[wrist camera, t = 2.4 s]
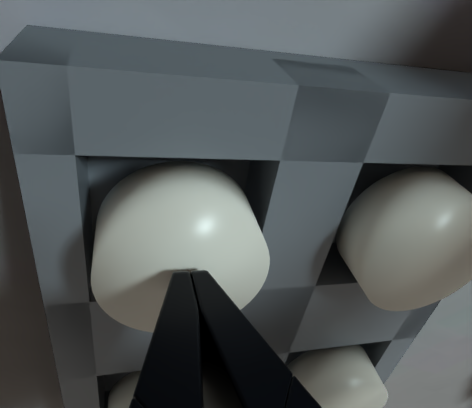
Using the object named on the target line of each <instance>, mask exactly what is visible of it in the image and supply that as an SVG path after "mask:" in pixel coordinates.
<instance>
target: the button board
mask: <svg viewBox="0 0 472 408" xmlns="http://www.w3.org/2000/svg"><path fill="white" fill-rule="evenodd" d="M0 89H1V94H2V99H3V104H4V109H5V114H6V119H7V124H8V129H9V134H10V139H11V144H12V149H13V154H14V159H15V164H16V169H17V174H18V179H19V184H20V189H21V194H22V199H23V204H24V209H25V214H26V219H27V224H28V229H29V234H30V239H31V244H32V249H33V254H34V259H35V264H36V269H37V274H38V279H39V284H40V289H41V294H42V299H43V304H44V309H45V314H46V319H47V324H48V329H49V334H50V339H51V344H52V349H53V354H54V359H55V364H56V369H57V374H58V379H59V384H60V389H61V394H62V399H63V404H64V408H108V397H109V393H110V391H111V389H112V388H113V386H114V385H115V384H116V383H117V382H118V381H119V380H121V379H122V378H123V377H125V376H126V375H128V374H130V373H132V372H134V371H141V369H142V366H143V363H144V360H145V357H146V354H147V350H148V347H149V344H150V341H151V338H152V335H153V332H146V331H141V330H137V329H134V328H131V327H128V326H126V325H124V324H121V323H119V322H118V321H116V320H114V319H113V318H112V317H110V316H109V315H108V314H107V313H105V311H104V310H103V309H102V308H101V307H100V306H99V304H98V303H97V301H96V299H95V297H94V294H93V292H92V287H91V269H92V260H93V250H94V240H95V230H96V221H97V215H98V211H99V209H100V206H101V204H102V202H103V200H104V199H105V197H106V195H107V194H108V193H109V192H110V190H111V189H112V188H113V187H114V186H115V185H116V184H117V183H118V182H120V181H121V180H122V179H124V178H125V177H127V176H128V175H130V174H132V173H133V172H135V171H137V170H139V169H142V168H144V167H147V166H150V165H153V164H157V163H162V162H169V161H191V162H197V163H202V164H206V165H209V166H212V167H215V168H217V169H219V170H221V171H223V172H224V173H226V174H227V175H229V176H230V177H231V178H232V179H233V180H235V181H236V182H237V183H238V185H239V186H240V187H241V188H242V190H243V192H244V193H245V195H246V197H247V199H248V202H249V204H250V206H251V209H252V211H253V213H254V216H255V218H256V220H257V223H258V225H259V227H260V230H261V232H262V234H263V237H264V239H265V241H266V244H267V247H268V250H269V256H270V266H269V271H268V275H267V277H266V280H265V282H264V284H263V286H262V288H261V289H260V291H259V292H258V293H257V295H256V296H255V297H254V298H253V299H252V300H251V301H250V302H249V303H248V304H247V305H246V306H245V307H244V308H242V309H241V312H242V313H243V314H244V315H245V316H246V318H247V319H248V320H249V321H250V322H251V324H252V325H253V326H254V327H255V329H256V330H257V331H258V332H259V333H260V335H261V336H262V337H263V338H264V339H265V341H266V342H267V343H268V344H269V345H270V347H271V348H272V349H273V350H274V351H275V353H276V354H277V355H278V356H279V357H280V359H281V360H282V361H283V362H284V363H285V365H286V366H287V365H288V364H289V363H291V362H292V361H293V360H294V359H296V358H297V357H299V356H300V355H302V354H304V353H305V352H307V351H309V350H316V349H324V348H332V347H340V346H349V345H357V344H358V345H360V346H361V347H363V349H364V350H365V352H366V353H367V355H368V357H369V359H370V361H371V363H372V364H373V366H374V368H375V370H376V372H377V373H378V375H379V377H380V379H381V381H382V383H383V384H384V383H385V381H386V380H387V379H388V377H389V376H390V374H391V373H392V371H393V370H394V368H395V367H396V365H397V364H398V362H399V361H400V359H401V358H402V357H403V355H404V354H405V352H406V351H407V349H408V348H409V346H410V345H411V343H412V342H413V340H414V339H415V337H416V336H417V334H418V333H419V332H420V330H421V329H422V327H423V326H424V324H425V323H426V321H427V320H428V318H429V317H430V315H431V314H432V312H433V311H434V310H435V308H436V307H437V305H438V304H439V302H440V301H441V300H439V301H437V302H435V303H432V304H430V305H427V306H424V307H421V308H417V309H412V310H406V311H389V310H384V309H381V308H378V307H377V306H375V305H374V304H372V303H371V302H370V300H369V299H368V298H367V296H366V294H365V293H364V291H363V290H362V288H361V286H360V285H359V283H358V282H357V280H356V279H355V277H354V275H353V274H352V272H351V271H350V269H349V268H348V266H347V264H346V263H345V261H344V260H343V258H342V257H341V255H340V253H339V251H338V249H337V244H336V235H337V230H338V226H339V224H340V221H341V219H342V217H343V215H344V214H345V212H346V210H347V209H348V207H349V206H350V205H351V204H352V202H353V201H354V200H355V199H356V198H357V197H358V196H359V195H360V194H361V193H362V192H363V191H364V190H366V189H367V188H368V187H370V186H371V185H372V184H374V183H375V182H377V181H378V180H380V179H382V178H384V177H386V176H388V175H390V174H392V173H395V172H397V171H400V170H403V169H407V168H412V167H432V168H436V169H439V170H441V171H444V172H445V173H446V174H448V175H449V176H450V177H451V178H453V179H454V180H455V181H456V182H458V183H459V184H460V185H461V186H463V187H464V188H465V189H466V190H468V191H469V192H470V193H471V194H472V73H466V72H457V71H448V70H438V69H429V68H420V67H411V66H401V65H392V64H383V63H374V62H364V61H355V60H346V59H337V58H327V57H318V56H309V55H299V54H290V53H281V52H272V51H262V50H253V49H244V48H235V47H225V46H216V45H207V44H198V43H188V42H179V41H170V40H161V39H151V38H142V37H133V36H124V35H114V34H105V33H96V32H87V31H77V30H68V29H59V28H50V27H40V26H31V25H27V26H26V27H25V28H24V29H23V30H22V31H21V32H20V33H19V34H18V35H17V37H16V38H15V39H14V40H13V41H12V42H11V43H10V44H9V45H8V46H7V47H6V48H5V49H4V50H3V51H2V52H1V54H0Z"/></svg>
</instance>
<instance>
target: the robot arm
mask: <svg viewBox="0 0 472 408" xmlns="http://www.w3.org/2000/svg"><path fill="white" fill-rule="evenodd" d="M292 376H293V373H292V372H291V371H290V369H289V368H288V367H287V366H286V365H285V363H284V362H283V361H282V360H281V359H280V357H279V356H278V355H277V354H276V353H275V351H274V350H273V349H272V348H271V347H270V345H269V344H268V343H267V342H266V341H265V339H264V338H263V337H262V336H261V335H260V333H259V332H258V331H257V330H256V329H255V327H254V326H253V325H252V324H251V322H250V321H249V320H248V319H247V318H246V316H245V315H244V314H243V313H242V312H241V310H240V309H239V308H238V307H237V306H236V304H235V303H234V302H233V301H232V300H231V298H230V297H229V296H228V295H227V294H226V292H225V291H224V290H223V289H222V288H221V286H220V285H219V284H218V283H217V282H216V280H215V279H214V278H213V277H212V276H211V274H210V273H209V272H208V271H206V270H195V271H191V272H190V273H189V271H176V272H173V273H172V276H171V279H170V282H169V285H168V288H167V291H166V294H165V297H164V301H163V304H162V307H161V310H160V313H159V316H158V319H157V322H156V326H155V329H154V332H153V335H152V338H151V341H150V344H149V347H148V350H147V354H146V357H145V360H144V363H143V366H142V369H141V372H140V375H139V378H138V382H137V385H136V388H135V391H134V394H133V399H132V400H131V403H130V406H129V408H322V407H321V406H320V405H319V404H318V402H317V401H316V400H315V399H314V398H313V397H312V396H311V394H310V393H309V392H308V391H307V390H306V389H305V387H304V386H303V385H302V384H301V383H300V381H299V380H298V379H297V378H296V377H295V376H293V377H292Z"/></svg>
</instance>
